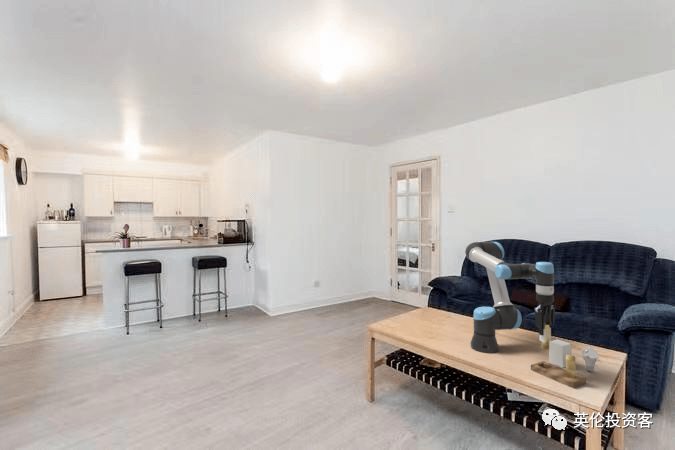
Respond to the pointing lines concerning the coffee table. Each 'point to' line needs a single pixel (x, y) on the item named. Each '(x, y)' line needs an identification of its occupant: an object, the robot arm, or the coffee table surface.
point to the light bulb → (590, 358)
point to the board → (561, 372)
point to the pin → (546, 344)
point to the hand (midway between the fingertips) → (545, 340)
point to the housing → (559, 352)
